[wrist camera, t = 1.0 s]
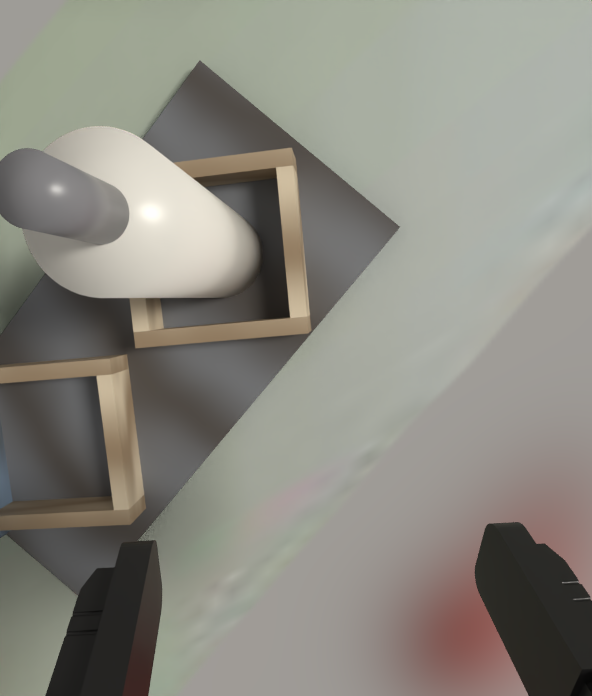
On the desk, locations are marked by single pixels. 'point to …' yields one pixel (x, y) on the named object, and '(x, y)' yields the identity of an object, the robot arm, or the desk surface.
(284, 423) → the desk surface
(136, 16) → the desk surface
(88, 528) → the wooden rack
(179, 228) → the bottle
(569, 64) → the desk surface
